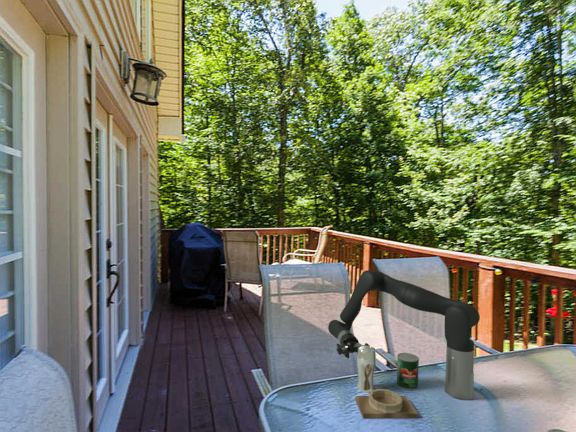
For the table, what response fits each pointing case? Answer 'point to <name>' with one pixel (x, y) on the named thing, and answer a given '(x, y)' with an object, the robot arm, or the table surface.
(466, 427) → the table surface
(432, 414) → the table surface
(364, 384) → the beer glass
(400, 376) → the canned tomato
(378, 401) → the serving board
